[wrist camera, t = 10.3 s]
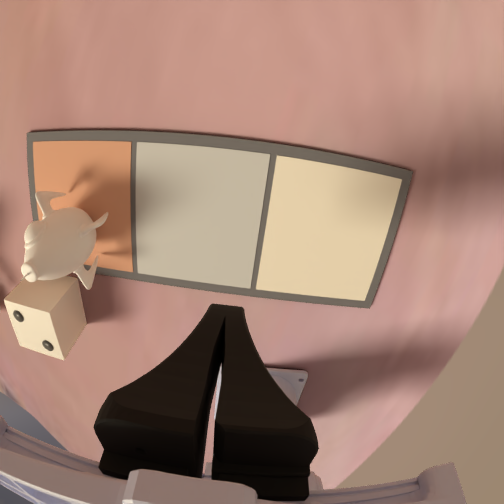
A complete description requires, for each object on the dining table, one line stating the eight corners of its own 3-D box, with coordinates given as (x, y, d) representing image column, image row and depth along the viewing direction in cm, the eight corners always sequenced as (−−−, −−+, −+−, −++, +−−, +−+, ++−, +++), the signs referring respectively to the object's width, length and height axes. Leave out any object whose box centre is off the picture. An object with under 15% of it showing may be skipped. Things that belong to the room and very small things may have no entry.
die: (87, 323, 26) (64, 361, 22) (45, 312, 26) (19, 346, 21) (78, 277, 24) (48, 313, 19) (34, 268, 24) (3, 300, 19)
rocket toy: (60, 178, 20) (-12, 219, 12) (122, 205, 20) (62, 259, 13) (51, 241, 22) (-9, 294, 15) (107, 268, 23) (57, 334, 16)
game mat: (368, 306, 24) (369, 308, 24) (42, 261, 23) (40, 263, 23) (411, 170, 19) (413, 171, 19) (29, 132, 18) (26, 133, 18)
